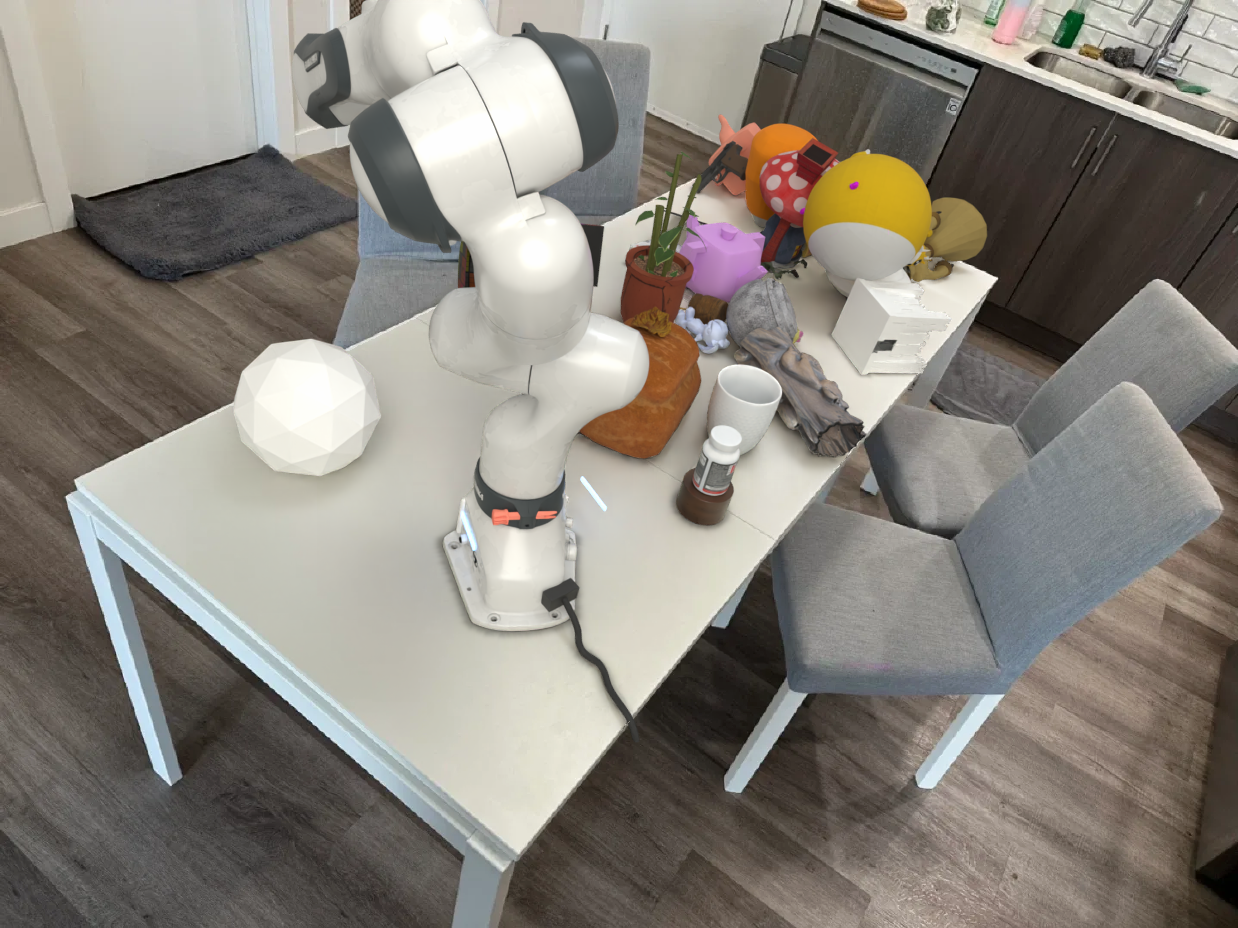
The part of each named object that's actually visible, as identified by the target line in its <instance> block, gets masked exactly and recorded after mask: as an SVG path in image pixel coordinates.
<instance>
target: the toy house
mask: <svg viewBox="0 0 1238 928" xmlns="http://www.w3.org/2000/svg"><path fill="white" fill-rule="evenodd" d="M817 140H818V139H817ZM817 140H815V139H814V138H812V139H811V140H810V141H809V142H808V143H807V144H806V145H805V146H804V147H803V148H802V149H801V150H796V151H789V152H785V153H781V154H778V155H776V156H774V157H772V158H770V159H769V160H768V161H767V162H766V163H765V164H764V166H763V167H762V170H761V173H760V191H761V194H762V198H763V199H764V201H765V203H766V204H767V206H768V207H769V208H770V209H771V210H772V211H773V212H774V213H775V214H774V215H772V216H771V217H770V218H769V219H768V221H767V222H766V224H765V226H766V227H764V229H762V230H760V231H759V233H761V234H762V235H763V236H764V237H765V242H764V246H763V251H762V256H761V263H763V262H772V261H775V262H776V263H779V264H782V265H784V266H785V265H787V264H789V263H792V262H796V261H800V260H801V259H802V257H801V256H802V250H801V249H802V247H803V245H804V243H805V242H806V240H805V235H804V228H803V218H804V214H800V210H801V209H802V208H805V206H806V203H807V200H808V198H809V195H810V193H811V191H812V189H813V188H814V186H815V185H816V183H817V182H818V181H819V180H820V179H821V177H822V176H823V175H824V174H825V173H826V172H827V171H828V170H830V169H831V168H832V167H834V166H835V165H837V164H838V163H840V162H841V161H839V160H838V159H836V157H837V156H838V154H839V152H838V151H836V150H835V149H833V148H831V147H829V146H828V145H826V144H824V143H822V142H820V141H819V140H818V141H817ZM797 265H798V264H796V265H794V267H791V268H790V269H793V268H795V267H796V266H797ZM777 269H782V270H785V269H786V270H789V268H781V267H778V268H777Z"/></svg>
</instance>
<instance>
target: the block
mask: <svg viewBox="0 0 1238 928" xmlns="http://www.w3.org/2000/svg"><path fill="white" fill-rule="evenodd" d="M580 224H581V226H582V228H583V230H584V233H585V235H586V238H587V241H588V244H589V248H590V251H591V256H592V263H593V273H594V282H593V288H594V287H595V288H598V286H599V284H598V283H599V278H600V268H601V260H602V259H601V258H602V250H603V242H604V241H603V240H604V232H605V225H600V224H591V223H582V222H580ZM471 287H475V279H474V266H473V261H472V257H471V254H470V251H469V249H468V247H467V246H466V244H465V242H464V241H462V240H461V242H460V243H459V251H458V262H457V288H471Z"/></svg>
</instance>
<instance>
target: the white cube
mask: <svg viewBox="0 0 1238 928" xmlns="http://www.w3.org/2000/svg"><path fill="white" fill-rule="evenodd" d="M924 293H925V289H924V288H923V287H921V285H920V284H919V282H912V283H902V282H886V281H869V280H864V279H860V278H857V279H856V281H855V283H854V285H853V288H852V290H851V292H850V294H849V297H847V299H846V301H845V303H844V305H843V308H842V311H841V312H840V314H839V317H838V320H837V322H836V323H835V326H834V328H833V330H832V333H831V337H832V338H833V339H834V341H835V343H837V345H838V346H839V348H840V349H841V350H842V351H843V353H844V354H845V355H846V357H847V358H848V359H849V361H850V362H851V363H852V365H853V366H854V367H855V369H856V370H857V371H858V373H859V374H860V376H868V374H873V373H874V374H917V375H918V374H923V373H924V371H925V368H926V367H927V365H928V362H927V361H926V360H924V358H923V357H922V356H918V354H921V353H922V351H923V349H922V348H921V347H925V345H926V344H927V342H926V341H925V340H929V338H930V334H929V332H946V331H947V329H948V325H950V324H951V322H952V318H951V316H949V315H948V314H947V312H946V311H932V310H929V309H928V308H925V304H924V303H921V299H922V296H923V295H924Z"/></svg>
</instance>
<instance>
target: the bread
mask: <svg viewBox="0 0 1238 928" xmlns="http://www.w3.org/2000/svg"><path fill="white" fill-rule="evenodd" d="M633 319H634V317H633V318H630V319H628V320H627V321H625V322H622V323H623V324H625V325H627V326H629V327H631V328H633V329H636V330H638V331H639V332H640V334H641V335H642V337H643V339H644V341H645V343H646V346H647V349H648V354H649V371H648V376H647V379H646V382H645V384H644V386H643V388H642V390H641V391H640V393H639V394H638V395H637V397H636V398H635V399H634V400H633V401H632V402H631V403H629V404H628V405H626V406H625V407H623V408H621V409H618V410H614V411H611V412H608V413H605V414H603V415H600V416H599V417H597V418H595V419H593V420H592V421H590V422H589V423H587V424H586V425H585V426H584V427H583V428H582V429H581V430H580V431H579V432H578V433H580V434H582V435H583V436H585V437H586V438H587V439H589V440H591V441H592V442H594V443H596V444H598V445H599V446H602V447H605V448H608V449H610V450H612V451H615V452H616V453H618V454H621V455H626V456H629V457H632V458H635V459H645V460H646V459H650V458H652V457H656V456H658V455H659V454H660V453H661V452H662V451H663V450H664V448H665V447H666V445H667V444H668V442H669V440H670V439H671V438H672V436H673V434H674V433H675V432H676V430H678V427H679V426H680V424H681V422H682V421H683V420H682V419H684V417H685V415H686V414H687V413H688V411H689V410H690V408H691V406H692V405H693V403H694V401H695V399H696V397H697V395H698V393H699V392H700V388H701V385H702V375H701V369H700V366H699V363H698V360H699V358H700V356H701V354H700V349H699V347H698V343H697V342H698V341H695V340H694V338H695V337H693V335H691V333H690V331H689V330H688V329H686V328H685V329H684V328H682V327H681V326H679V325H677V324H675V322H674V323H673V322H672V325H671V333H669V334H667V335H665V336H664V337H662V336H661V337H660V336H659V334H657V333H655V334H653V332H649V330H648V329H645V328H640V327H639V326H635V325H632V324H631V322H632V321H633ZM669 322H671V321H669ZM688 331H689V332H688ZM689 333H690V334H689Z"/></svg>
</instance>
